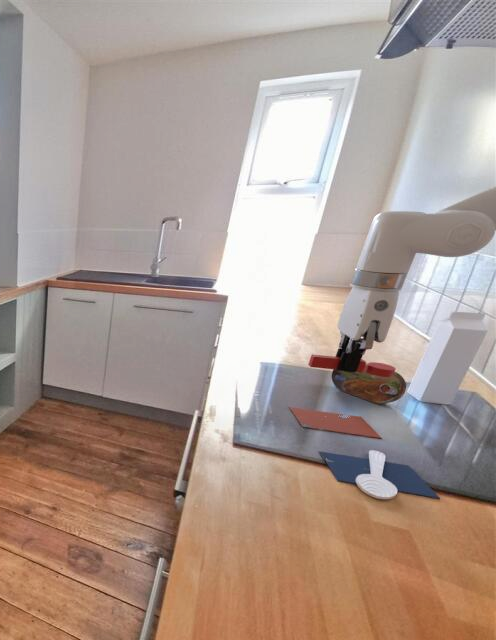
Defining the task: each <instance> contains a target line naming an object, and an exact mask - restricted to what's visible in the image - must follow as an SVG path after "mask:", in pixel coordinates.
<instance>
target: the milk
mask: <svg viewBox="0 0 496 640" xmlns="http://www.w3.org/2000/svg"><path fill="white" fill-rule="evenodd" d="M485 316H486V314H485V313H483V312H482V313H481V312H469V311H468V312H465V311H452V312H451V313H450V315H449V316H448V318H445V319H441V320H440V321H438V322H437V324H436V326H435V329H434V331H433V333H432V335H431V338H430V340H429V342H428V344H427V346H426V348H425V351H424V354H423V355H422V357H421V360H420V362H419V364H418V366H417V369H416V371H415V373H414V375H413V377H412V380H411V381H410V384H409V386H408V389H407V391H406V393H407V394H409V395H410V396H412V397H413V398H414V399H416V400H417V401H418V402H420V403H428V404H429V403H430V404H439V405H447V406H451V405H452V402H453V401H454V399H455V397H456V395H457V393H458V391H459V389H460V388H461V385H462V383H463V381H464V380H465V377H466V375H467V374H468V372H469V369H470V367H471V365H472V364H473V362H474V359H475V357H476V356H477V353H478V351H479V349H480V348H481V346H482V344H483V341H484V339H485V338H486V336H487V334H488V332H489V329H488V327H487V326H486V323H485V322H484V319H485Z"/></svg>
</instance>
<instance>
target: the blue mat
mask: <svg viewBox="0 0 496 640" xmlns="http://www.w3.org/2000/svg"><path fill="white" fill-rule="evenodd" d="M319 452H320V453H319ZM318 453H319V455H320V454H321V455H322V456H323V457H324V458H325V459H326V458H327V459H328V460H331V461H334V462H332V463H331V462H325V464H326V463H327V464H326V465H327V467H328V468H329V470H330V471H331V473H332V474H333V476H334V477H335V479H336V480H337V482H340V483H347V484H352V485H357V484H356V478H357V476H358V475H360V474H371V471H370V463H369V458H364V457H358V456H352V455H347V454H346V455H345V454H339V453H333V452H327V451H320V450H319V451H318ZM321 455H320V456H321ZM322 456H321V457H322ZM364 468H366V469H365V470H364ZM367 469H369V470H367ZM398 476H399V477H398ZM382 477H383V478H384V479H386V480H388V481H389V482H391V483H392V484H394V485H395V486H396V488H397V493H402V494H408V495H415V496H420V497H426V498H432V499H436V500H437V499H438V500H440V499H441V497H440V496H439V495H438V494H437V493H436V492H435V491H434V490H433V489H432V487H430V486H429V485H428V484H427V482H425V481H424V479H422V478H421V476H419V474H418V473H417V472H416V471H415V470H413V469H412V467H411V466H410V465H408V464H402V463H395V462H390V461H385V462H384V467H383V473H382Z"/></svg>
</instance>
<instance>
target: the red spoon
mask: <svg viewBox="0 0 496 640" xmlns="http://www.w3.org/2000/svg"><path fill="white" fill-rule="evenodd" d="M340 358H341V357H335V356H332V355H324V354H323V355H322V354H314V353H313V354H311V356H310V358H309V361H308V366H309V367H310V368H318V369H324V370H325V369H326V370H337V367H338V364H339V361H340ZM366 363H367V365H366V368H365V372H367V373H369V374H372V375H375V376H380V377H392V376H393V374H394V372H396V367H394V366H393V365H391V364H387V363H383V362H376V361H375V362H374V361H371V362H367V361H366V360H364V359H363V358H361V361H360V364H359V366H358V369H357V371H356V372H362V371H363V369H364V366H365V364H366Z"/></svg>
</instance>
